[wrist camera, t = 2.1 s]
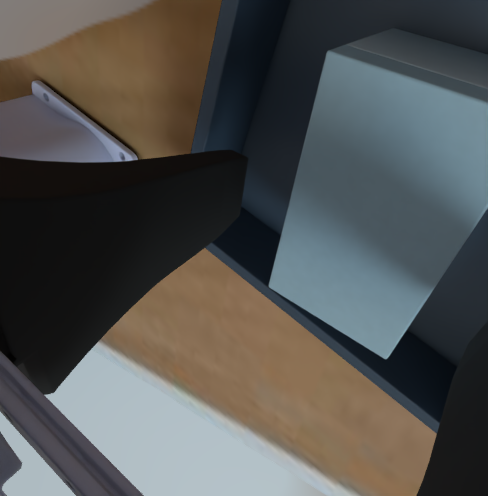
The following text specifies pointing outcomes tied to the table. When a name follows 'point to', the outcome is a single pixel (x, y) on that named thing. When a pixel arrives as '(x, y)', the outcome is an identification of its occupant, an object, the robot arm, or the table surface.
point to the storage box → (288, 156)
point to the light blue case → (385, 183)
